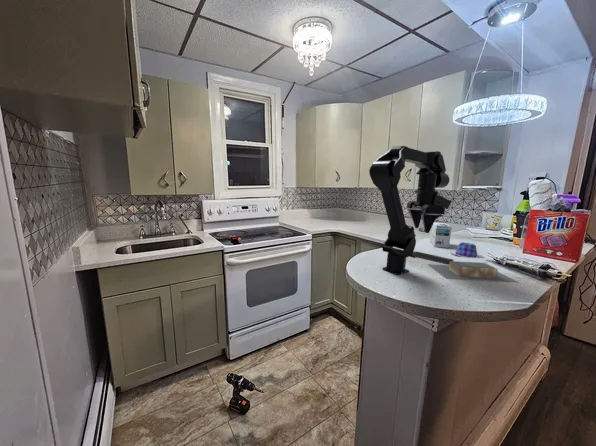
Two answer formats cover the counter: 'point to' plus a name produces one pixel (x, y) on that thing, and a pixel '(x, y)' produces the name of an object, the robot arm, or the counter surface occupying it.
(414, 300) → the counter surface
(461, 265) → the maple block
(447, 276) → the rubber mat
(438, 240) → the light bulb box
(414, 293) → the counter surface
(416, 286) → the counter surface
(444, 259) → the phone
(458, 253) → the purple checkered dome
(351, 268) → the counter surface
